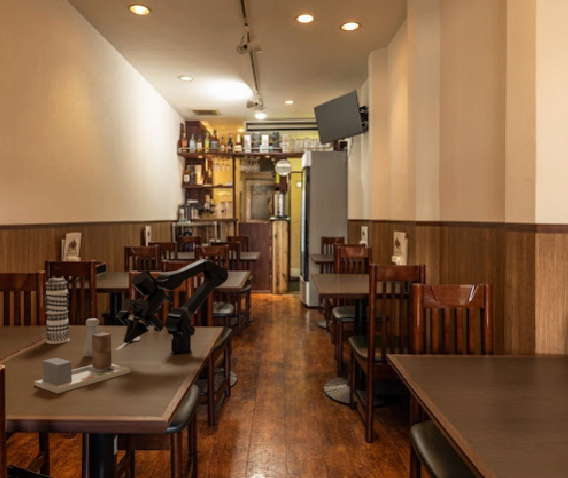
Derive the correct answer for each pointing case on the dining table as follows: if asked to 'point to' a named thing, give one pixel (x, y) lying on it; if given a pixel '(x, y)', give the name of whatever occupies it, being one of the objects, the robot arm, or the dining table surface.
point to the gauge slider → (101, 352)
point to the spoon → (126, 343)
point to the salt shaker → (90, 335)
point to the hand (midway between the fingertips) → (124, 342)
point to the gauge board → (72, 375)
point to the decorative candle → (57, 311)
